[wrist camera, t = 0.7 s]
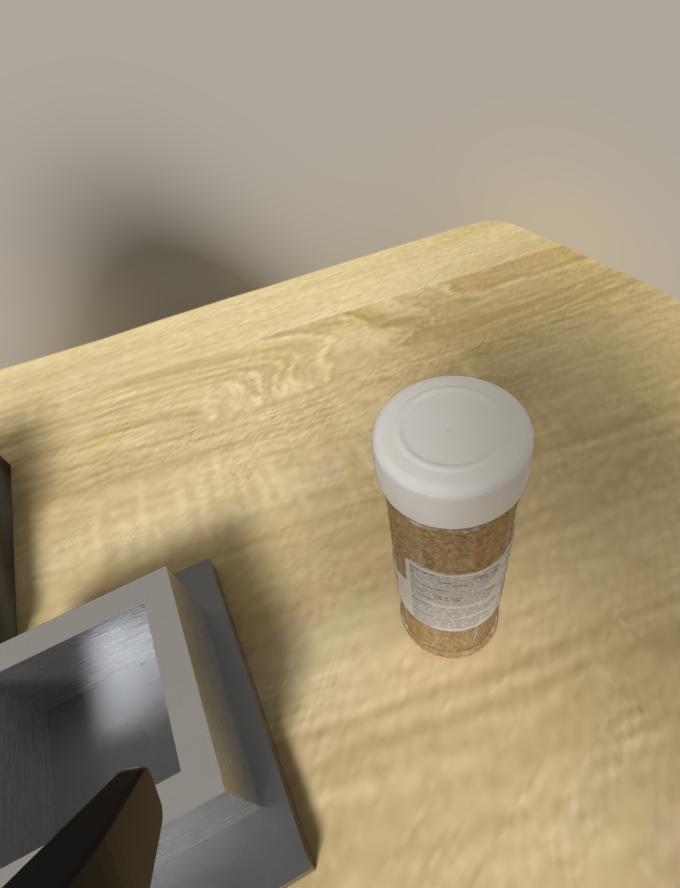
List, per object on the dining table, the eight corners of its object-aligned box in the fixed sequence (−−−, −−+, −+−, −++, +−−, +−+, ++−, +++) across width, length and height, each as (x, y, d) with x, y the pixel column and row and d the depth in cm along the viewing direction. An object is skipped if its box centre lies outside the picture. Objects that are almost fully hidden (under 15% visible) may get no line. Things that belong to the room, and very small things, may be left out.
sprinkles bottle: (414, 559, 27) (394, 360, 17) (506, 581, 26) (546, 378, 15) (388, 646, 25) (348, 474, 14) (489, 676, 23) (525, 509, 13)
